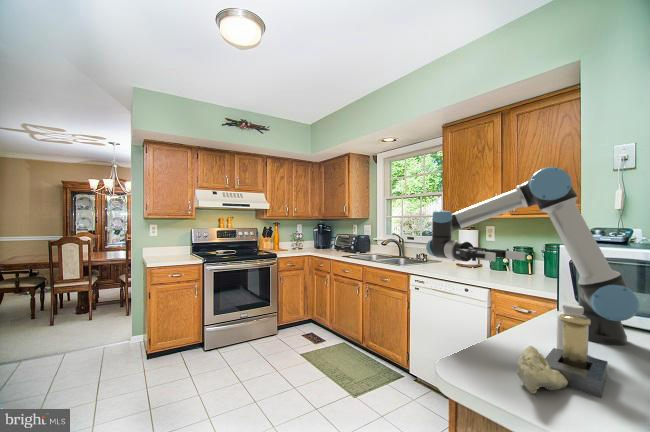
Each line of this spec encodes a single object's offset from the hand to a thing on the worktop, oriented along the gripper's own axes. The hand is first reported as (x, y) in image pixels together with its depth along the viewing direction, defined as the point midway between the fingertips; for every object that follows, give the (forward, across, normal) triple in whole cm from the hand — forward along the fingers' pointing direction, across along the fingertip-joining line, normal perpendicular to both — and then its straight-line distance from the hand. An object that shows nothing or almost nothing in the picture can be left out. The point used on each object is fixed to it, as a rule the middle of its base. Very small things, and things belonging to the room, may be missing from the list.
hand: (510, 256), depth 102 cm
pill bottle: (+8, -18, -30) cm, 36 cm away
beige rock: (+21, +16, -30) cm, 40 cm away
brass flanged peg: (+19, 0, -30) cm, 36 cm away
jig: (+19, 0, -30) cm, 36 cm away
